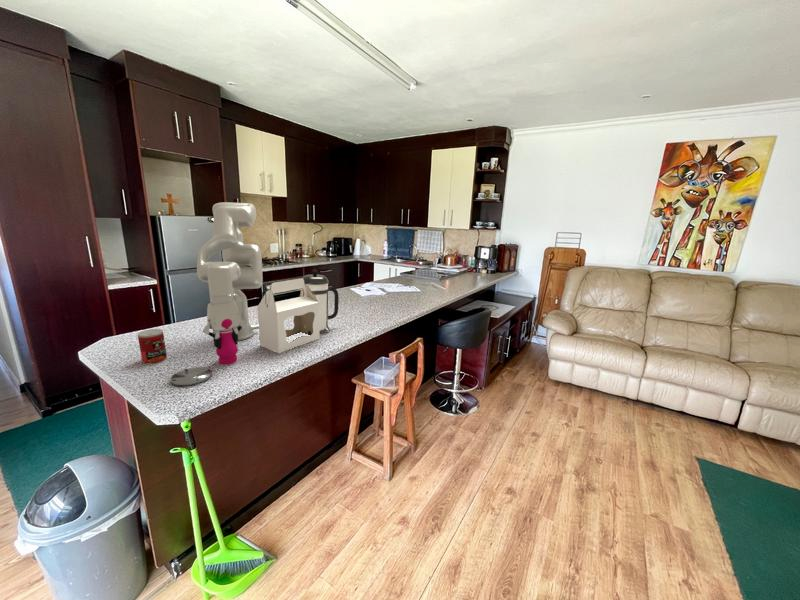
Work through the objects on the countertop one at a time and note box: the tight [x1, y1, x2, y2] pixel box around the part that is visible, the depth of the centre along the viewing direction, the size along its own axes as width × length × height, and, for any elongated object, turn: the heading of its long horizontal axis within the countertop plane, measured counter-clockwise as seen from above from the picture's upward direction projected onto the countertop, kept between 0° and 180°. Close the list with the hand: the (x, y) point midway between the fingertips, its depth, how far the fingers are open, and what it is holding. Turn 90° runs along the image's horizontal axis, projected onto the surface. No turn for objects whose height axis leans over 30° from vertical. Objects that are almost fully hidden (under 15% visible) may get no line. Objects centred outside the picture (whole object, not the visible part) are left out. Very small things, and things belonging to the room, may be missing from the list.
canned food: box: [137, 328, 168, 365], centre depth 125 cm, size 8×8×11 cm
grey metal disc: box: [170, 366, 213, 388], centre depth 113 cm, size 12×12×2 cm
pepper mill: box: [215, 319, 239, 366], centre depth 124 cm, size 7×7×20 cm
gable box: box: [256, 277, 321, 354], centre depth 144 cm, size 22×13×28 cm, turn 145°
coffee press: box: [302, 269, 340, 335], centre depth 160 cm, size 17×16×30 cm
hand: (226, 345), depth 125 cm, fingers open, 5 cm apart
